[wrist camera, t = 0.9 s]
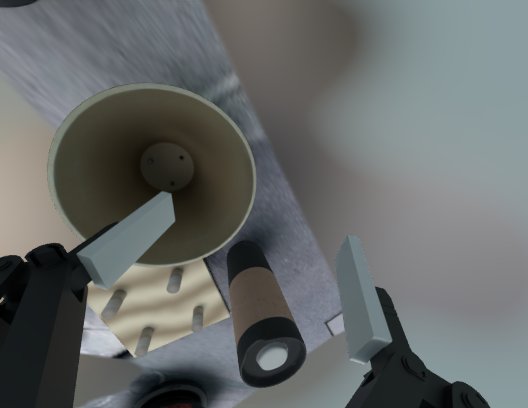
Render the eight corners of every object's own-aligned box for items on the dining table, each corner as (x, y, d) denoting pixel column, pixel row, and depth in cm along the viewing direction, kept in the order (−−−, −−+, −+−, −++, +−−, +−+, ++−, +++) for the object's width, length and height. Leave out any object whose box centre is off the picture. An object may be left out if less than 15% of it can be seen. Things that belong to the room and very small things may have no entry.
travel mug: (260, 271, 41) (300, 381, 22) (223, 273, 38) (234, 395, 20) (265, 239, 38) (314, 332, 20) (227, 239, 36) (243, 342, 18)
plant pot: (149, 88, 26) (140, 27, 12) (232, 159, 34) (282, 170, 20) (77, 177, 25) (-19, 217, 11) (180, 229, 33) (197, 289, 19)
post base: (75, 280, 32) (51, 304, 27) (193, 237, 34) (191, 253, 30) (136, 352, 39) (126, 381, 35) (229, 312, 42) (231, 333, 37)
